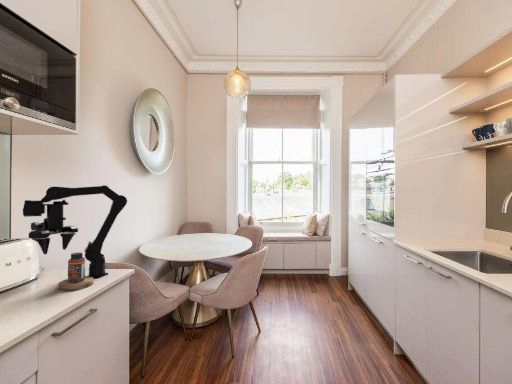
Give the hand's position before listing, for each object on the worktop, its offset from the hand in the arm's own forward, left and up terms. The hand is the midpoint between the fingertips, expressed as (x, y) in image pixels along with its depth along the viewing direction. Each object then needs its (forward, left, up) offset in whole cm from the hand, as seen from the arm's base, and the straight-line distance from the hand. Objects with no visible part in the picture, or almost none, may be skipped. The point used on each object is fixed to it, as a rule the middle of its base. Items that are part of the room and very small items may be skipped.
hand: (55, 251), depth 114 cm
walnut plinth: (+3, +13, -13) cm, 19 cm away
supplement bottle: (+3, +13, -11) cm, 17 cm away
